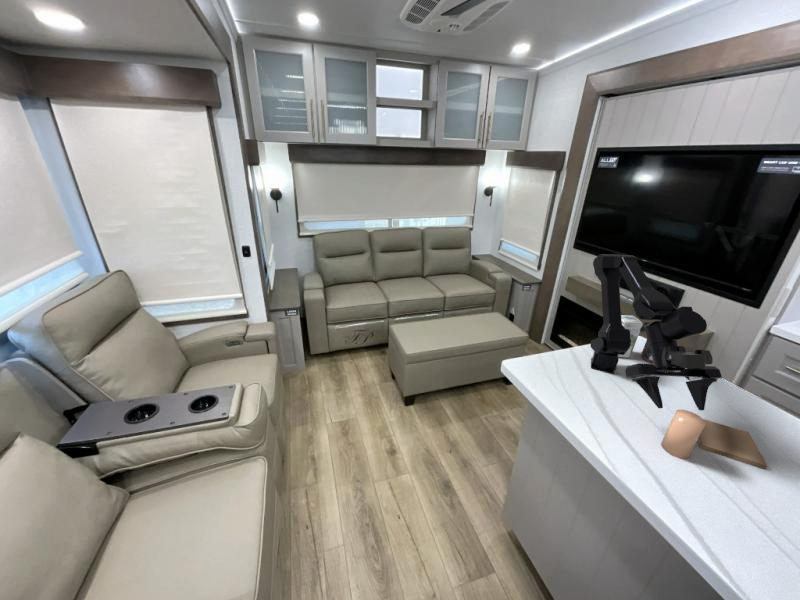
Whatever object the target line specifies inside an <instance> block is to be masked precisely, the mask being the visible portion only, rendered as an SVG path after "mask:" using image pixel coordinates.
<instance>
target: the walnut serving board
mask: <svg viewBox="0 0 800 600" xmlns="http://www.w3.org/2000/svg"><path fill="white" fill-rule="evenodd" d="M702 419H703V420H704V421H705V423H706V424H705V426H704V428H703V430H702V432H701V434H700V436H699V438H698V440H697V442H698V444H699V447H700V449H701V450H704V451H707V452H711V453H713V454H717V455H719V456H722V457H726V458H729V459H732V460H735V461H738V462H741V463H744V464H747V465H750V466H753V467H757V468H759V469H762V470H766V469H767V468H768V464H767V462H766V460H765V458H764V457H763V455H762V453H761V451H760V450H759V447H758V446H757V443H755V440H754V439H753V436H752V435H751V433H750V432H749V431H745V430H742V429H739V428H736V427H732V426H730V425H726V424H723V423H718V422H715V421H711V420H709V419H706V418H705V419H704V418H702Z"/></svg>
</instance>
